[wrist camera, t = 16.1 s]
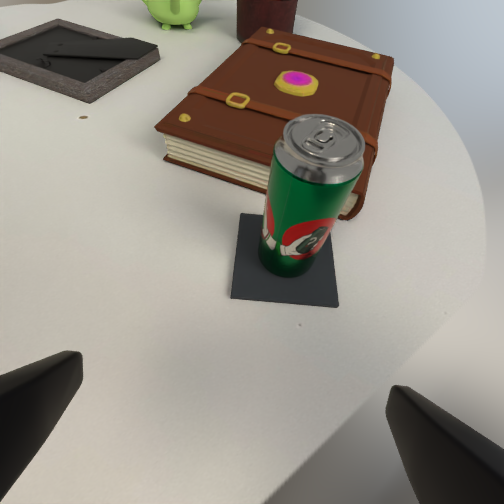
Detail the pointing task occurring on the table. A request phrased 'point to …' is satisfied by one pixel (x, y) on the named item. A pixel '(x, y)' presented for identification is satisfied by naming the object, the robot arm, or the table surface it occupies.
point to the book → (276, 106)
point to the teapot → (173, 12)
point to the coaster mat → (274, 287)
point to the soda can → (307, 190)
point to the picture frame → (74, 58)
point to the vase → (264, 16)
